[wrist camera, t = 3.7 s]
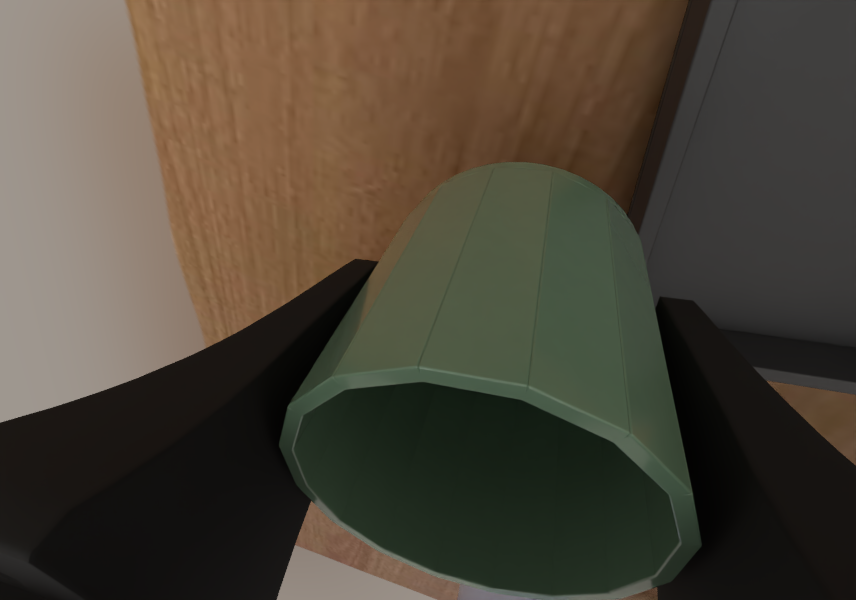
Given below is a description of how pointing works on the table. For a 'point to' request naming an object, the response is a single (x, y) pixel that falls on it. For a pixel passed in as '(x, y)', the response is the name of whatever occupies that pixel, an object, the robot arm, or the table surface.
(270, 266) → the table surface
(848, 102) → the tray
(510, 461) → the green cup
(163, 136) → the table surface
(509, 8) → the table surface
